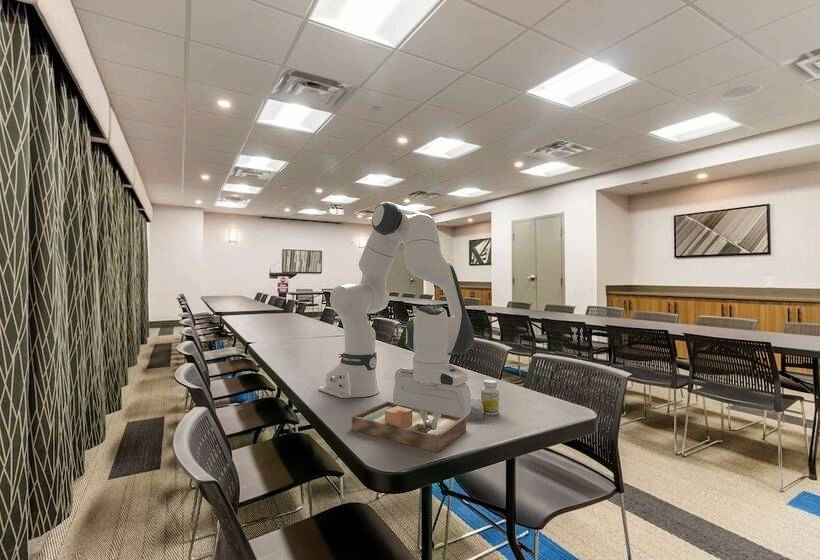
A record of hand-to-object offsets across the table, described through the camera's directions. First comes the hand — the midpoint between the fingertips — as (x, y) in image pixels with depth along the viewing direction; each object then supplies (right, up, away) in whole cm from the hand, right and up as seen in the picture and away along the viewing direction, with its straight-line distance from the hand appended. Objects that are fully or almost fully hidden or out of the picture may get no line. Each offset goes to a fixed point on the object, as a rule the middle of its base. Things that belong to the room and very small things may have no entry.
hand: (430, 428), depth 94 cm
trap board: (-5, -4, +8) cm, 10 cm away
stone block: (+12, -5, +22) cm, 26 cm away
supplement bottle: (+20, -4, +23) cm, 31 cm away
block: (-8, -1, +4) cm, 9 cm away
